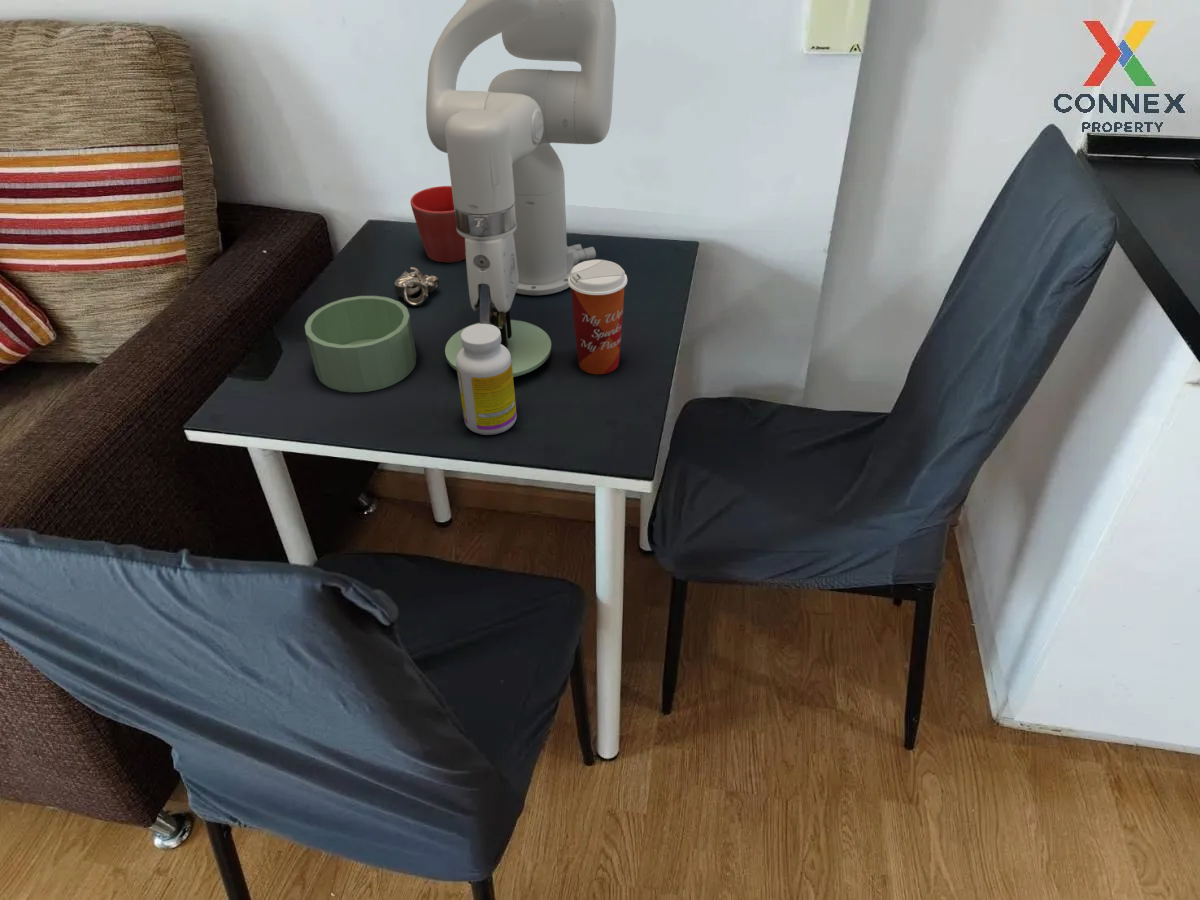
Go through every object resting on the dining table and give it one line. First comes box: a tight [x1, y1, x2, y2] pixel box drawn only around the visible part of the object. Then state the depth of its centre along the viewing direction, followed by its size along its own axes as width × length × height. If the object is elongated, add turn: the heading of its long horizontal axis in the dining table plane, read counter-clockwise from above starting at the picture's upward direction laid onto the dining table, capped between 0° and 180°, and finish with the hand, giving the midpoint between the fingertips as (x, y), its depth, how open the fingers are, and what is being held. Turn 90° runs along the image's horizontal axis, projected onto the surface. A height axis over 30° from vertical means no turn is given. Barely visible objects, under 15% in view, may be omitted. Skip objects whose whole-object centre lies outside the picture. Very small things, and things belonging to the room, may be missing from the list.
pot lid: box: [444, 311, 553, 378], centre depth 117 cm, size 15×15×6 cm
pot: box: [304, 295, 417, 393], centre depth 117 cm, size 14×14×7 cm
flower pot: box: [410, 185, 466, 264], centre depth 143 cm, size 11×11×10 cm
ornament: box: [394, 266, 440, 307], centre depth 133 cm, size 8×7×4 cm
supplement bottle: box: [456, 323, 518, 436], centre depth 105 cm, size 7×7×13 cm
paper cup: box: [568, 259, 628, 375], centre depth 115 cm, size 8×8×14 cm
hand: (498, 343), depth 118 cm, fingers closed on pot lid, 2 cm apart
